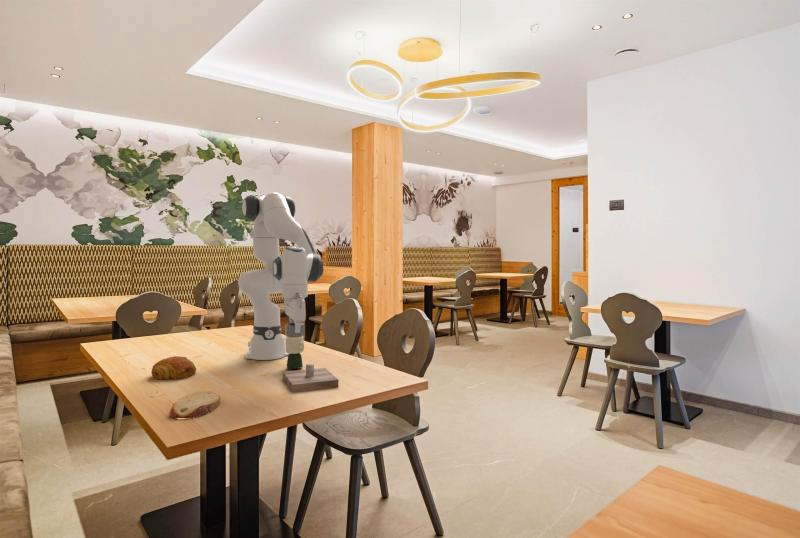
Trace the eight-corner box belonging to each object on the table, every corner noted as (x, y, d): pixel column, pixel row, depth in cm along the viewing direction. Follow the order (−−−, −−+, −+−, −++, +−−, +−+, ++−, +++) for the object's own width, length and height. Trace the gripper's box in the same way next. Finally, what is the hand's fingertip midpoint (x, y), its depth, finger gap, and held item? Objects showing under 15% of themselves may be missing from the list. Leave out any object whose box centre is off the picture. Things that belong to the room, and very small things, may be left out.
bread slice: (209, 395, 157) (209, 384, 157) (237, 407, 145) (237, 395, 145) (152, 408, 144) (152, 396, 144) (178, 423, 132) (178, 410, 132)
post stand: (283, 378, 176) (282, 361, 176) (324, 374, 183) (324, 357, 183) (292, 391, 160) (292, 372, 160) (338, 386, 167) (338, 368, 166)
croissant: (145, 383, 177) (141, 362, 176) (181, 368, 191) (178, 349, 189) (170, 387, 170) (166, 366, 169) (206, 372, 184) (203, 352, 182)
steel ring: (284, 334, 170) (284, 323, 170) (302, 333, 173) (302, 322, 173) (287, 337, 164) (287, 326, 164) (305, 336, 167) (305, 325, 167)
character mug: (310, 369, 191) (310, 336, 190) (296, 372, 185) (296, 339, 184) (293, 364, 197) (293, 333, 197) (279, 368, 192) (278, 336, 191)
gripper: (310, 294, 160) (310, 335, 160) (298, 289, 179) (298, 326, 179) (291, 295, 157) (291, 336, 158) (281, 290, 176) (281, 326, 177)
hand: (295, 330), depth 169 cm, fingers closed on steel ring, 6 cm apart
